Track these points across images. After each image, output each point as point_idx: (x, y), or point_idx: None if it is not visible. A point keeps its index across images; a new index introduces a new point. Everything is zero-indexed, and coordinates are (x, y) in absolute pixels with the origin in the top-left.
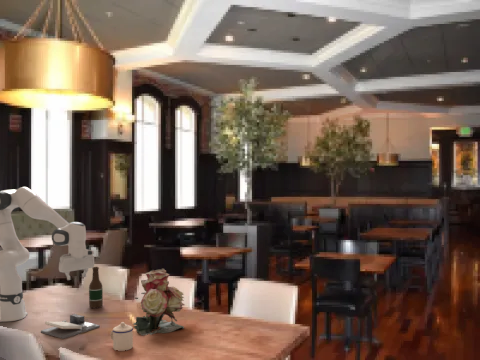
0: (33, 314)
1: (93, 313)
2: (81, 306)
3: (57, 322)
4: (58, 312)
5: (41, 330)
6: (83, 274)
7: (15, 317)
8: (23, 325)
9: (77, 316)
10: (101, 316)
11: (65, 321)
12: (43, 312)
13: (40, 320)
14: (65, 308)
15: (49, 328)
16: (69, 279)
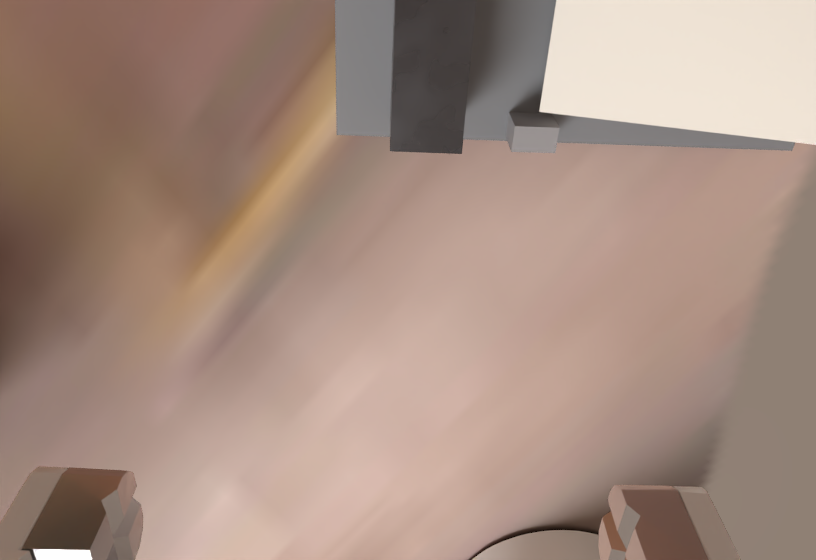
0: (404, 557)
1: (41, 230)
2: (16, 474)
3: (718, 68)
4: (256, 478)
5: (792, 145)
6: (102, 555)
7: (586, 553)
8: (652, 415)
9: (458, 15)
10: (29, 61)
11: (528, 123)
12: (328, 547)
13: (490, 421)
14: (150, 517)
15: (708, 132)
16: (687, 491)
